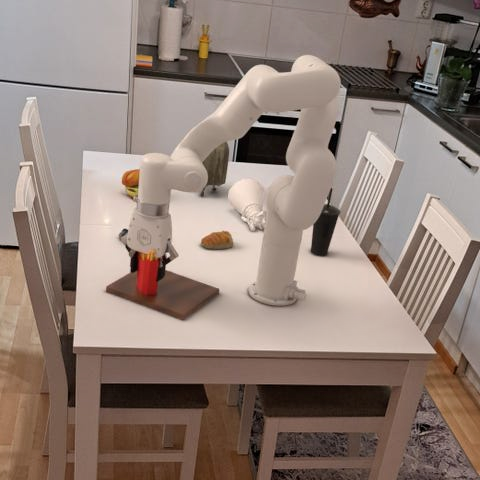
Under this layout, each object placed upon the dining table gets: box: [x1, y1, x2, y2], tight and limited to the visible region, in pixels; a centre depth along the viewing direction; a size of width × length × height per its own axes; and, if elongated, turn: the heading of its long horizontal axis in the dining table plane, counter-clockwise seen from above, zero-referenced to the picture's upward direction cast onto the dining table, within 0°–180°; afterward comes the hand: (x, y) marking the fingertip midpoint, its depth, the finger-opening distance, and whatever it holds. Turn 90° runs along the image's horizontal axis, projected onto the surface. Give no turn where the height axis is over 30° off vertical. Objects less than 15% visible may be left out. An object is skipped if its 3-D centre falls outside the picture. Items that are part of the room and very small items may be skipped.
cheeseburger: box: [121, 168, 140, 199], centre depth 257 cm, size 10×11×10 cm
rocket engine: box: [227, 178, 266, 232], centre depth 250 cm, size 12×12×18 cm
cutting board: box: [105, 269, 220, 321], centre depth 200 cm, size 22×18×2 cm
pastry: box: [200, 230, 234, 250], centre depth 230 cm, size 9×7×4 cm
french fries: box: [137, 249, 159, 295], centre depth 195 cm, size 9×4×13 cm, turn 22°
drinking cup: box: [310, 187, 341, 257], centre depth 232 cm, size 8×8×20 cm
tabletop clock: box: [198, 141, 230, 197], centre depth 265 cm, size 14×9×25 cm, turn 6°
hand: (146, 274), depth 196 cm, fingers closed on french fries, 6 cm apart
